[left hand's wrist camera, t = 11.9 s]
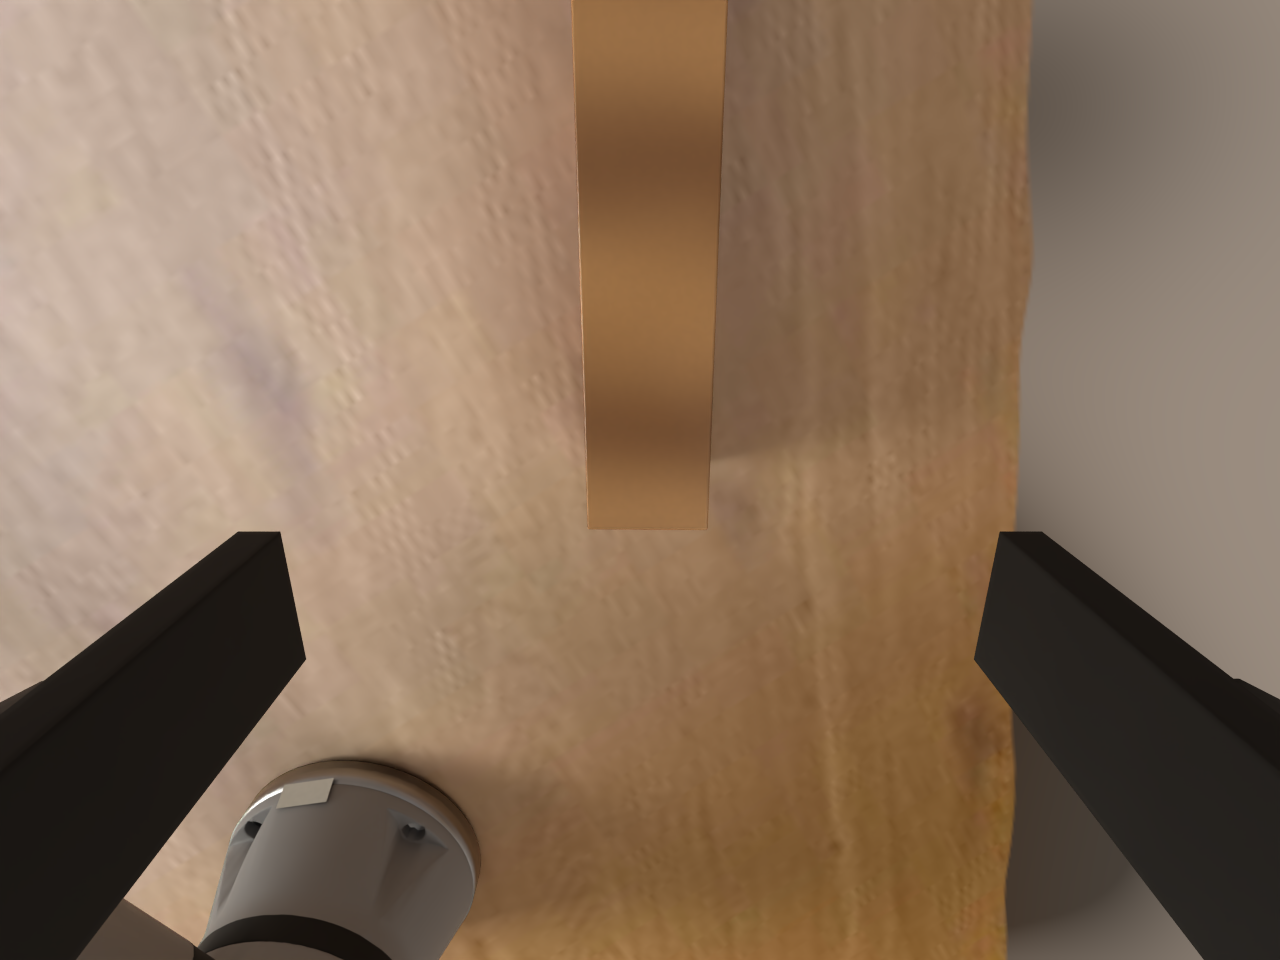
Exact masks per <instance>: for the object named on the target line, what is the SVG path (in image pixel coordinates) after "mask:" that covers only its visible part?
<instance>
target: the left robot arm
mask: <svg viewBox="0 0 1280 960" xmlns="http://www.w3.org/2000/svg"><path fill="white" fill-rule="evenodd" d="M305 660H306V656H305V651H304V646H303V641H302V637H301V632H300V627H299V622H298V617H297V612H296V607H295V602H294V597H293V592H292V587H291V582H290V577H289V573H288V568H287V563H286V558H285V553H284V548H283V543H282V538H281V533H280V532H237V533H236V534H235V535H233V536H232V537H231V538H229V539H228V540H227V541H225V542H224V543H223V544H221V545H220V546H219V547H218V548H216V549H215V550H214V551H212V552H211V553H210V554H208V555H207V556H206V557H205V558H203V559H202V560H201V561H199V562H198V563H197V564H195V565H194V566H193V567H192V568H190V569H189V570H188V571H186V572H185V573H184V574H182V575H181V576H180V577H179V578H177V579H176V580H175V581H173V582H172V583H171V584H169V585H168V586H167V587H165V588H164V589H163V590H162V591H160V592H159V593H158V594H156V595H155V596H154V597H152V598H151V599H150V600H149V601H147V602H146V603H145V604H143V605H142V606H141V607H139V608H138V609H137V610H136V611H134V612H133V613H132V614H130V615H129V616H128V617H126V618H125V619H124V620H123V621H121V622H120V623H119V624H117V625H116V626H115V627H113V628H112V629H111V630H109V631H108V632H107V633H106V634H104V635H103V636H102V637H100V638H99V639H98V640H96V641H95V642H94V643H93V644H91V645H90V646H89V647H87V648H86V649H85V650H83V651H82V652H81V653H80V654H78V655H77V656H76V657H74V658H73V659H72V660H70V661H69V662H68V663H67V664H65V665H64V666H63V667H61V668H60V669H59V670H57V671H56V672H55V673H53V674H52V675H51V676H50V677H48V678H47V679H46V680H44V681H41V682H39V683H37V684H35V685H33V686H31V687H29V688H27V689H25V690H24V691H22V692H20V693H18V694H16V695H14V696H12V697H10V698H8V699H6V700H4V701H2V702H0V960H439V958H440V957H441V955H442V954H443V952H444V951H445V949H446V948H447V946H448V944H449V943H450V941H451V940H452V938H453V937H454V935H455V933H456V932H457V930H458V929H459V927H460V925H461V924H462V922H463V921H464V919H465V918H466V916H467V914H468V912H469V910H470V907H471V905H472V901H473V897H474V894H475V890H476V886H477V882H478V878H479V874H480V866H481V856H480V849H479V845H478V842H477V838H476V836H475V834H474V831H473V829H472V827H471V826H470V824H469V822H468V821H467V819H466V818H465V816H464V815H463V814H462V812H461V811H460V810H459V809H458V808H457V807H456V806H455V805H454V804H453V803H452V802H451V801H450V800H449V799H448V798H447V797H446V796H444V795H443V794H442V793H440V792H439V791H438V790H436V789H435V788H433V787H432V786H430V785H429V784H427V783H425V782H424V781H422V780H420V779H418V778H416V777H414V776H412V775H409V774H407V773H405V772H402V771H399V770H396V769H393V768H390V767H386V766H383V765H378V764H373V763H367V762H359V761H327V762H319V763H314V764H309V765H306V766H302V767H299V768H296V769H294V770H291V771H288V772H287V773H285V774H283V775H281V776H279V777H277V778H276V779H274V780H273V781H271V782H270V783H269V784H268V785H267V786H265V787H264V788H263V789H262V790H261V791H260V792H259V794H258V795H257V796H256V797H255V799H254V800H253V802H252V803H251V805H250V806H249V808H248V809H247V811H246V812H245V813H244V815H243V816H242V818H241V819H240V821H239V822H238V824H237V825H236V827H235V829H234V831H233V833H232V836H231V839H230V843H229V847H228V850H227V854H226V858H225V861H224V865H223V869H222V873H221V876H220V880H219V884H218V888H217V891H216V895H215V899H214V902H213V906H212V910H211V914H210V917H209V921H208V925H207V928H206V932H205V935H204V937H203V939H202V941H201V942H200V944H199V946H198V947H196V946H194V945H193V944H192V943H191V942H190V941H188V940H187V939H185V938H184V937H182V936H180V935H179V934H177V933H176V932H174V931H173V930H171V929H170V928H168V927H167V926H165V925H164V924H162V923H160V922H159V921H157V920H156V919H154V918H153V917H151V916H150V915H148V914H147V913H145V912H144V911H142V910H140V909H139V908H137V907H136V906H134V905H133V904H131V903H130V902H128V901H127V900H125V899H124V896H125V895H126V894H127V893H128V891H129V890H130V889H131V887H132V886H133V885H134V883H135V882H136V881H137V879H138V878H139V877H140V876H141V874H142V873H143V872H144V870H145V869H146V868H147V866H148V865H149V864H150V863H151V861H152V860H153V859H154V857H155V856H156V855H157V853H158V852H159V851H160V849H161V848H162V847H163V846H164V844H165V843H166V842H167V840H168V839H169V838H170V836H171V835H172V834H173V832H174V831H175V830H176V829H177V827H178V826H179V825H180V823H181V822H182V821H183V819H184V818H185V817H186V815H187V814H188V813H189V812H190V810H191V809H192V808H193V806H194V805H195V804H196V802H197V801H198V800H199V799H200V797H201V796H202V795H203V793H204V792H205V791H206V789H207V788H208V787H209V785H210V784H211V783H212V782H213V780H214V779H215V778H216V776H217V775H218V774H219V772H220V771H221V770H222V768H223V767H224V766H225V765H226V763H227V762H228V761H229V759H230V758H231V757H232V755H233V754H234V753H235V751H236V750H237V749H238V748H239V746H240V745H241V744H242V742H243V741H244V740H245V738H246V737H247V736H248V735H249V733H250V732H251V731H252V729H253V728H254V727H255V725H256V724H257V723H258V721H259V720H260V719H261V718H262V716H263V715H264V714H265V712H266V711H267V710H268V708H269V707H270V706H271V704H272V703H273V702H274V701H275V699H276V698H277V697H278V695H279V694H280V693H281V691H282V690H283V689H284V687H285V686H286V685H287V684H288V682H289V681H290V680H291V678H292V677H293V676H294V674H295V673H296V672H297V670H298V669H299V668H300V667H301V665H302V664H303V663H304V661H305ZM974 660H975V661H976V663H977V664H978V665H979V667H980V668H981V669H982V671H983V672H984V673H985V674H986V676H987V677H988V678H989V680H990V681H991V682H992V684H993V685H994V686H995V687H996V689H997V690H998V691H999V693H1000V694H1001V695H1002V697H1003V698H1004V699H1005V701H1006V702H1007V703H1008V704H1009V706H1010V707H1011V708H1012V710H1013V711H1014V712H1015V714H1016V715H1017V716H1018V717H1019V719H1020V720H1021V721H1022V723H1023V724H1024V725H1025V727H1026V728H1027V729H1028V731H1029V732H1030V733H1031V735H1032V736H1033V737H1034V738H1035V740H1036V741H1037V742H1038V744H1039V745H1040V746H1041V748H1042V749H1043V750H1044V751H1045V753H1046V754H1047V755H1048V757H1049V758H1050V759H1051V761H1052V762H1053V763H1054V765H1055V766H1056V767H1057V768H1058V770H1059V771H1060V772H1061V774H1062V775H1063V776H1064V778H1065V779H1066V780H1067V782H1068V783H1069V784H1070V785H1071V787H1072V788H1073V789H1074V791H1075V792H1076V793H1077V795H1078V796H1079V797H1080V799H1081V800H1082V801H1083V802H1084V804H1085V805H1086V806H1087V808H1088V809H1089V810H1090V812H1091V813H1092V814H1093V815H1094V817H1095V818H1096V819H1097V821H1098V822H1099V823H1100V825H1101V826H1102V827H1103V829H1104V830H1105V831H1106V832H1107V834H1108V835H1109V836H1110V838H1111V839H1112V840H1113V842H1114V843H1115V844H1116V846H1117V847H1118V848H1119V849H1120V851H1121V852H1122V853H1123V855H1124V856H1125V857H1126V859H1127V860H1128V861H1129V862H1130V864H1131V865H1132V866H1133V868H1134V869H1135V870H1136V872H1137V873H1138V874H1139V876H1140V877H1141V878H1142V879H1143V881H1144V882H1145V883H1146V885H1147V886H1148V887H1149V889H1150V890H1151V891H1152V893H1153V894H1154V895H1155V896H1156V898H1157V899H1158V900H1159V902H1160V903H1161V904H1162V906H1163V907H1164V908H1165V910H1166V911H1167V912H1168V913H1169V915H1170V916H1171V917H1172V919H1173V920H1174V921H1175V923H1176V924H1177V925H1178V927H1179V928H1180V929H1181V930H1182V932H1183V933H1184V934H1185V936H1186V937H1187V938H1188V940H1189V941H1190V942H1191V943H1192V945H1193V946H1194V947H1195V949H1196V950H1197V951H1198V953H1199V954H1200V955H1201V956H1202V958H1203V959H1204V960H1280V699H1278V698H1276V697H1274V696H1272V695H1270V694H1268V693H1266V692H1264V691H1262V690H1260V689H1258V688H1256V687H1254V686H1252V685H1251V684H1249V683H1247V682H1245V681H1243V680H1241V679H1233V678H1232V677H1230V676H1229V675H1228V674H1226V673H1225V672H1224V671H1223V670H1221V669H1220V668H1219V667H1217V666H1216V665H1215V664H1213V663H1212V662H1211V661H1210V660H1208V659H1207V658H1206V657H1204V656H1203V655H1202V654H1200V653H1199V652H1198V651H1197V650H1195V649H1194V648H1193V647H1191V646H1190V645H1189V644H1187V643H1186V642H1185V641H1184V640H1182V639H1181V638H1180V637H1178V636H1177V635H1176V634H1174V633H1173V632H1172V631H1171V630H1169V629H1168V628H1167V627H1165V626H1164V625H1163V624H1161V623H1160V622H1159V621H1157V620H1156V619H1155V618H1154V617H1152V616H1151V615H1150V614H1148V613H1147V612H1146V611H1144V610H1143V609H1142V608H1141V607H1139V606H1138V605H1137V604H1135V603H1134V602H1133V601H1131V600H1130V599H1129V598H1128V597H1126V596H1125V595H1124V594H1122V593H1121V592H1120V591H1118V590H1117V589H1116V588H1115V587H1113V586H1112V585H1111V584H1109V583H1108V582H1107V581H1105V580H1104V579H1103V578H1101V577H1100V576H1099V575H1098V574H1096V573H1095V572H1094V571H1092V570H1091V569H1090V568H1088V567H1087V566H1086V565H1085V564H1083V563H1082V562H1081V561H1079V560H1078V559H1077V558H1075V557H1074V556H1073V555H1072V554H1070V553H1069V552H1068V551H1066V550H1065V549H1064V548H1062V547H1061V546H1060V545H1059V544H1057V543H1056V542H1055V541H1053V540H1052V539H1051V538H1049V537H1048V536H1047V535H1045V534H1044V533H1043V532H1000V533H999V538H998V543H997V548H996V553H995V558H994V563H993V568H992V572H991V577H990V582H989V587H988V592H987V597H986V602H985V607H984V612H983V617H982V622H981V627H980V632H979V637H978V641H977V646H976V651H975V656H974Z"/></svg>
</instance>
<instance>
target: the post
mask: <svg viewBox="0 0 1280 960" xmlns="http://www.w3.org/2000/svg"><path fill="white" fill-rule="evenodd" d="M727 11H728V0H571V12H572V43H573V75H574V107H575V139H576V171H577V203H578V235H579V267H580V299H581V331H582V363H583V395H584V427H585V459H586V491H587V523H588V529H642V530H707V528H708V504H709V478H710V452H711V426H712V400H713V374H714V348H715V323H716V297H717V271H718V245H719V219H720V193H721V167H722V141H723V115H724V89H725V63H726V37H727Z"/></svg>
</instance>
